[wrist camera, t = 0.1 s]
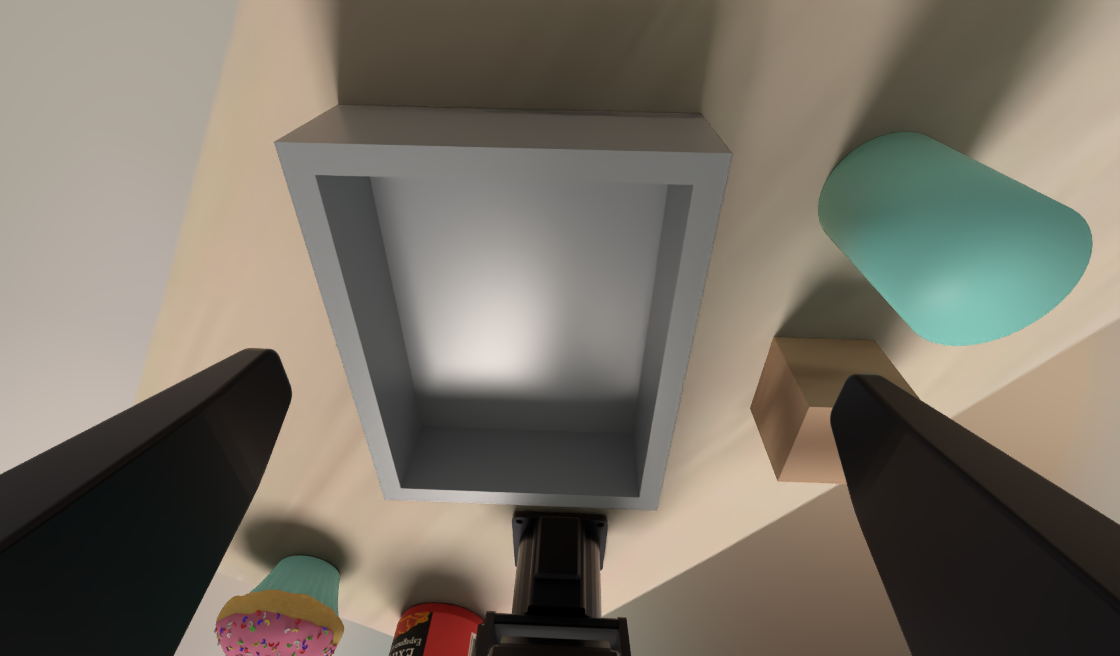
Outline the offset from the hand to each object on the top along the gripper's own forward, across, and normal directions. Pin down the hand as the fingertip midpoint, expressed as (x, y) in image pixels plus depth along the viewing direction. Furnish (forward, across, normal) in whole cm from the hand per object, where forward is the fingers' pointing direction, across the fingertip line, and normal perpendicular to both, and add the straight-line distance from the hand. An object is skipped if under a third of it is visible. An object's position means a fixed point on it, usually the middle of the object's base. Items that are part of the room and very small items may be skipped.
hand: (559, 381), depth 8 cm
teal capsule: (+15, -13, +2) cm, 20 cm away
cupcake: (+15, +20, +34) cm, 42 cm away
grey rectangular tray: (+15, +2, +8) cm, 17 cm away
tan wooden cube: (+15, -13, +12) cm, 23 cm away
